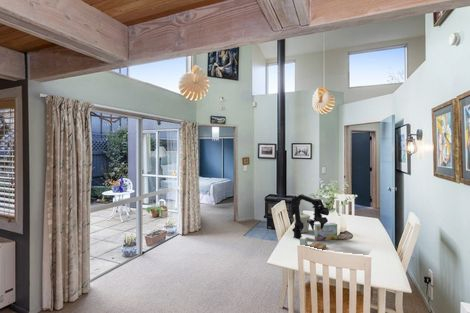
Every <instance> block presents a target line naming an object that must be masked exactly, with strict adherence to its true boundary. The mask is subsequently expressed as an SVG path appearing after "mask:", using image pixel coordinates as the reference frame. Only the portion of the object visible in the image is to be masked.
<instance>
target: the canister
mask: <svg viewBox="0 0 470 313" xmlns="http://www.w3.org/2000/svg"><path fill="white" fill-rule="evenodd" d="M292 217H293V224H294V226H295V222H296V220H295V213H294V214H293V215H292ZM300 219H301V222H302V223H303V226H304V227H303V229H302V231H301V234H303V233H304V234H305V233H307V232H309V227H310V224H309V223H308V222H307V220H308V219H311V215H310V214H308V213H304V212H303V211H300Z"/></svg>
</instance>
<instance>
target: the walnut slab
mask: <svg viewBox="0 0 470 313" xmlns="http://www.w3.org/2000/svg"><path fill="white" fill-rule="evenodd" d="M308 246H310V247H314V248H317V249H322V251H323V250H325V249H327V243H326V244H325V243H321V242H318V241H317V242H316V241H313V242H312V243H310V244H309V245H308Z"/></svg>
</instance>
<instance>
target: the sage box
mask: <svg viewBox="0 0 470 313" xmlns="http://www.w3.org/2000/svg"><path fill="white" fill-rule="evenodd" d="M299 245H300V246H302V245H306V246H307V245H308V237H306V236H302V237H301V238H300V239H299Z"/></svg>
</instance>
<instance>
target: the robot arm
mask: <svg viewBox="0 0 470 313" xmlns="http://www.w3.org/2000/svg"><path fill="white" fill-rule="evenodd" d="M302 200H303V201H305V202H308V203H310V204H311V205H313V206H312V207H311V208H313V209H314V210H313V218H312V219H311V218H310V219H308V220H307V222H308V223H309V226H310V227H311V230H312V231H314V232H315V223H318V224H320V225H321V229H323V226H324V224H325V223H329V222H328V221H329V220H328V218H327V216H329V214H330V210H329V208H328V207H325V205H324V203H323V201H322V199H320V198H313V197H310V196H307V195H305V194H299V195H297V196H295V197H292V198H291V200H290V201H291V205H292V206H293V211H294V214H295V220H296V222H295V225H294V226H293V228H292V232H293V238H294V239H297V240H298V239H299V240H300V238H301V237H303V236H302V233H301V231H302V229H303V227H304V226H303V223H302V222H301V219H300V212H301V211H300V206H301V201H302ZM323 216H324V217H323Z"/></svg>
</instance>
